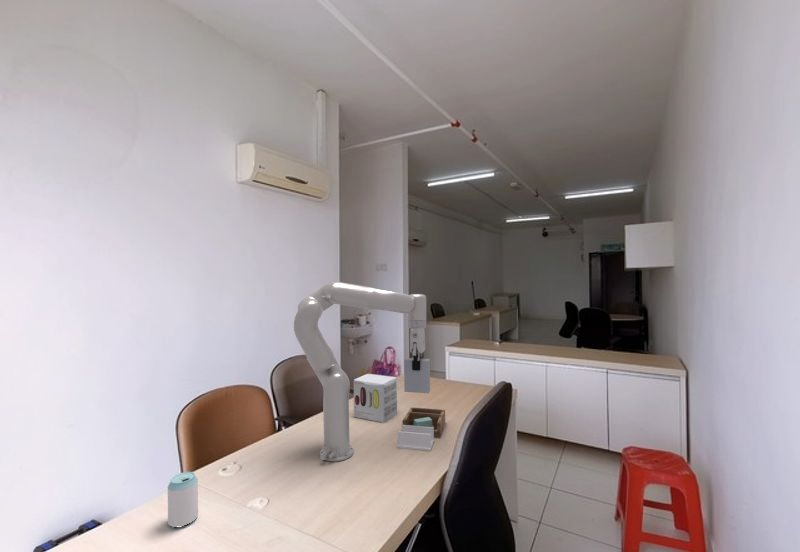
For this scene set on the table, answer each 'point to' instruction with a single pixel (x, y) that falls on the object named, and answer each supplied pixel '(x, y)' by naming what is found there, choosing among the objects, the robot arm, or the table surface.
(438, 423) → the box
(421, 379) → the sheet
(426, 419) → the offcut top
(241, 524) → the table surface
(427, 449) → the stand
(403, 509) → the table surface
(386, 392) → the supplement box
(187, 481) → the can
